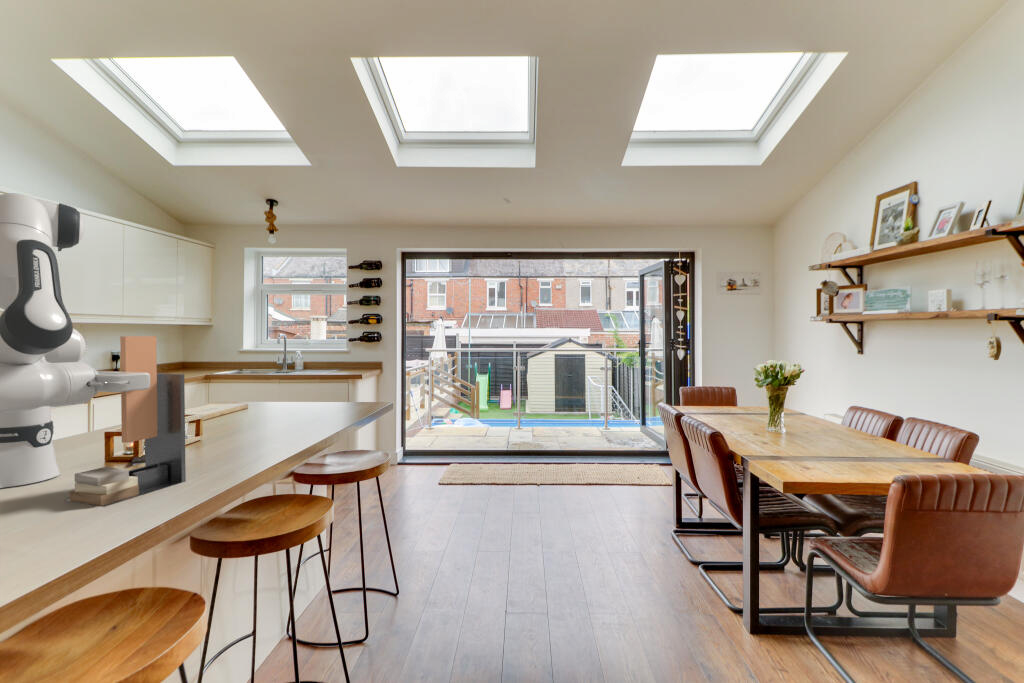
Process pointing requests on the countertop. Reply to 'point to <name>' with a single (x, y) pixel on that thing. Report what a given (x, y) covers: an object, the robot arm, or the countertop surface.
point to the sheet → (139, 403)
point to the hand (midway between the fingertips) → (141, 377)
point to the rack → (164, 440)
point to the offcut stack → (104, 486)
